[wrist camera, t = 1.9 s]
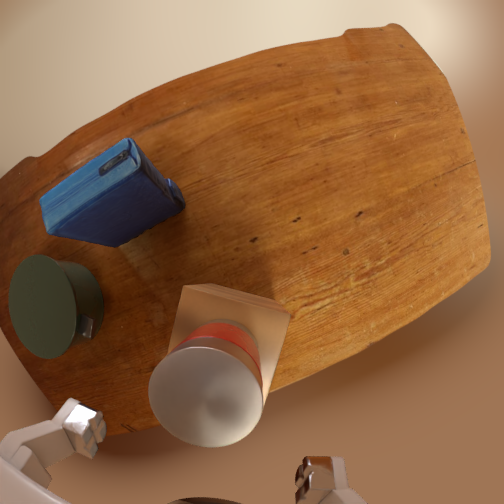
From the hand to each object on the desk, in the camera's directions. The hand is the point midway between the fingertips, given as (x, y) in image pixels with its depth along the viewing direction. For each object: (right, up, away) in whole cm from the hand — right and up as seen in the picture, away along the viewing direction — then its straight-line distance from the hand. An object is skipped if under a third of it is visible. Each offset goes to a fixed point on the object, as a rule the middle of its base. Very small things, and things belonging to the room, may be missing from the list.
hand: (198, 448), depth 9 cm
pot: (-30, -2, +34) cm, 45 cm away
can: (-1, -2, +16) cm, 16 cm away
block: (-1, -3, +34) cm, 34 cm away
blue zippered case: (-15, +13, +35) cm, 41 cm away
